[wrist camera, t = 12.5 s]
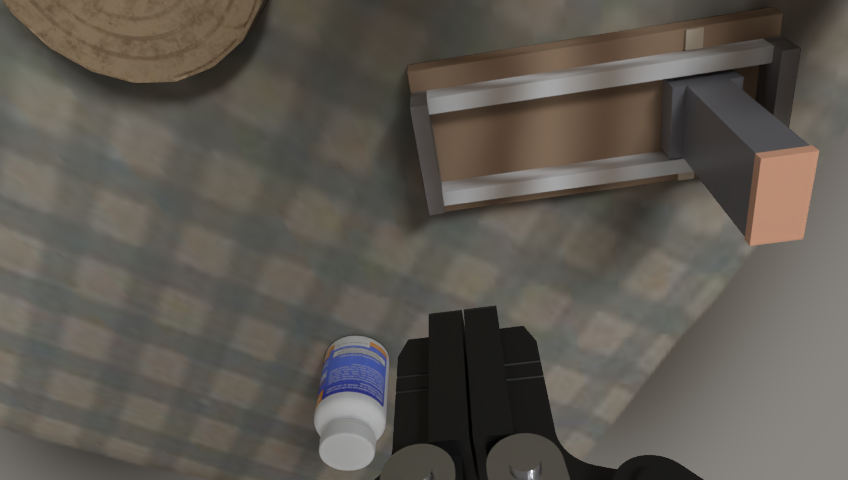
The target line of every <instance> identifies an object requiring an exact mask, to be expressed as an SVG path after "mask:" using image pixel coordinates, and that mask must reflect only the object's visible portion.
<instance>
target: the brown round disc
mask: <svg viewBox="0 0 848 480" xmlns="http://www.w3.org/2000/svg"><path fill="white" fill-rule="evenodd" d="M3 1H4V3H5V4H6V6H7V7H8V8H9V10H10V11H11V13H12V14H13V15H14V16H15V17H16V18H18V19H19V20H20V21H21V22H22V23H23V24H24V25H25V26H26V27H27V28H28V29H30V30H31V31H32V32H33V33H34V34H35V35H36V36H37V37H38V38H39V39H40V40H41V41H43V42H44V43H45V44H46V45H47V46H48V47H49V48H50V49H52V50H54V51H56V52H58V53H59V54H61V55H63V56H65V57H67V58H68V59H70V60H72V61H74V62H75V63H77V64H79V65H81V66H83V67H84V68H86V69H88V70H90V71H92V72H95V73H99V74H103V75H106V76H110V77H114V78H118V79H122V80H125V81H129V82H133V83H151V82H177V81H179V80H182V79H184V78H187V77H190V76H192V75H195V74H197V73H200V72H203V71H205V70H208V69H210V68H213V67H214V66H215V65H216V64H217V63H218V62H220V61H221V60H222V59H223V58H224V57H225V56H226V55H227V54H228V53H230V52H231V51H232V50H233V49H234V48H235V47H236V46H237V45H238V44H240V43H241V42H242V41H243V40H244V39H245V37H246V36H247V35H248V34H249V33H250V32H251V31H252V30H253V28H254V26H255V24H256V22H257V20H258V18H259V17H260V15H261V13H262V11H263V9H264V7H265V5H266V3H267V1H268V0H3Z"/></svg>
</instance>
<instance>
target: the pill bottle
mask: <svg viewBox="0 0 848 480" xmlns="http://www.w3.org/2000/svg"><path fill="white" fill-rule="evenodd" d="M388 376H389V356H388V353H387V351H386V350H385V348H384V347H383V346H382V345H381V344H380V343H378V342H377V341H375V340H373V339H371V338H368V337H364V336H347V337H343V338H341V339H338V340H337V341H335V342H334V343H333V344H332V345H331V346H330V347H329V349H328V350H327V352H326V355H325V360H324V365H323V370H322V376H321V381H320V387H319V392H318V398H317V404H316V409H315V415H314V425H315V428H316V431H317V433H318V434H319V435H320V445H319V454H320V457H321V459H322V460H323V461H324V462H325V463H326V464H327V465H329V466H330V467H332V468H335V469H338V470H344V471H352V470H358V469H361V468H364V467H365V466H367V465H368V464H370V463H371V461H372V460H373V458H374V455H375V447H376V441H377V440H378V439H379V438H380V437H381V436H382V434H383V432H384V430H385V426H386V414H387V393H388Z"/></svg>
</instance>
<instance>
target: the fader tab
mask: <svg viewBox="0 0 848 480" xmlns="http://www.w3.org/2000/svg"><path fill="white" fill-rule="evenodd" d="M743 80H744V77H743V76H742V75H740V74H739V73H738V72H737V71H735V70H734V69H729V70H722V71H715V72H709V73H702V74H695V75H689V76H682V77H676V78H669V79H663V97H662V124H661V148H662V149H663V151H664V152H665V154H666V155H667V156H668V158H669V159H673V158H680V157H683V158H684V159H685V161H686V162H687V163H688V165H689V166H690V167H691V168H692V170H693V171H694V172H695V174H696V175H697V176H698V177H699V179H700V180H701V181H702V183H703V184H704V185H705V186H706V188H707V189H708V190H709V192H710V193H711V194H712V195H713V197H714V198H715V199H716V201H717V202H718V203H719V204H720V206H721V207H722V208H723V210H724V211H725V212H726V213H727V215H728V216H729V217H730V219H731V220H732V221H733V222H734V224H735V225H736V226H737V228H738V229H739V230H740V231H741V233H742V234H743V235H744V236H745V240H746V242H747V243H748V244H749V245H750V246H752V245H760V244H768V243H775V242H783V241H791V240H799V239H803V237H804V232H805V226H806V221H807V215H808V210H809V204H810V199H811V193H812V187H813V182H814V177H815V171H816V166H817V160H818V155H819V150H818V149H816V148H815V147H814V146H813V145H811V146H810V145H809V144H807V143H806V142H805V141H804V140H803V139H801V138H800V137H799V136H798V135H797V134H795V133H794V132H793V131H792V130H790V129H789V128H788V127H787V126H786V125H784V124H783V123H782V122H781V121H780V120H778V119H777V118H776V117H775V116H773V115H772V114H771V113H770V112H769V111H767V110H766V109H765V108H764V107H763V106H761V105H760V104H759V103H758V102H756V101H755V100H754V99H753V98H752V97H750V96H749V95H748V94H747V93H746V92H744V91H743V90H742V89H743Z"/></svg>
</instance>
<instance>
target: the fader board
mask: <svg viewBox="0 0 848 480" xmlns="http://www.w3.org/2000/svg"><path fill="white" fill-rule="evenodd" d="M782 18H783V13H782V12H780V11H778V10H776V9H774V8H772V7H770V8H764V9H757V10H751V11H745V12H739V13H732V14H726V15H720V16H713V17H707V18H701V19H694V20H688V21H682V22H676V23H669V24H663V25H657V26H650V27H644V28H638V29H631V30H625V31H619V32H613V33H606V34H600V35H594V36H587V37H581V38H575V39H568V40H562V41H556V42H550V43H543V44H537V45H531V46H524V47H518V48H512V49H505V50H499V51H493V52H486V53H480V54H474V55H468V56H461V57H455V58H449V59H442V60H436V61H430V62H423V63H417V64H411V65H408V70H407V74H408V80H409V85H410V91H411V98H410V111H411V117H412V122H413V128H414V133H415V139H416V144H417V150H418V155H419V161H420V166H421V172H422V177H423V183H424V188H425V194H426V199H427V205H428V210H429V215H437V214H444V213H445V212H446V211H453V210H461V209H468V208H475V207H483V206H490V205H497V204H505V203H512V202H519V201H527V200H534V199H541V198H549V197H556V196H563V195H570V194H578V193H585V192H592V191H600V190H607V189H614V188H622V187H629V186H636V185H644V184H651V183H658V182H666V181H673V180H678V181H679V180H687V179H694V178H695V177H698V176H697V175H696V174H695V172H694V171H693V170H692V168H691V167H690V166H689V165H688V163H687V162H686V161H685V159H684V158H683V157H680V158H673V159H669V158H668V156H667V155H666V154H665V152H664V151H663V149H662V148H661V124H662V97H663V79H669V78H676V77H682V76H689V75H695V74H702V73H709V72H715V71H722V70H729V69H734V70H735V71H737V72H738V73H739V74H740V75H742V76H743V77H744V80H743V89H742V90H743V91H744V92H746V93H747V94H748V95H749V96H750V97H752V98H753V99H754V100H755V101H756V102H758V103H759V104H760V105H761V106H763V107H764V108H765V109H766V110H767V111H769V112H770V113H771V114H772V115H773V116H775V117H776V118H777V119H778V120H780V121H781V122H782V123H783V124H784V125H786V126H787V127H788V128H789V124H790V117H791V111H792V104H793V98H794V91H795V84H796V78H797V71H798V64H799V58H800V51H801V48H800V47H799V46H797V45H795V44H793V43H792V42H790V41H788V40H786V39H785V38H783V37H781V36H780V34H781V26H782Z"/></svg>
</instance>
